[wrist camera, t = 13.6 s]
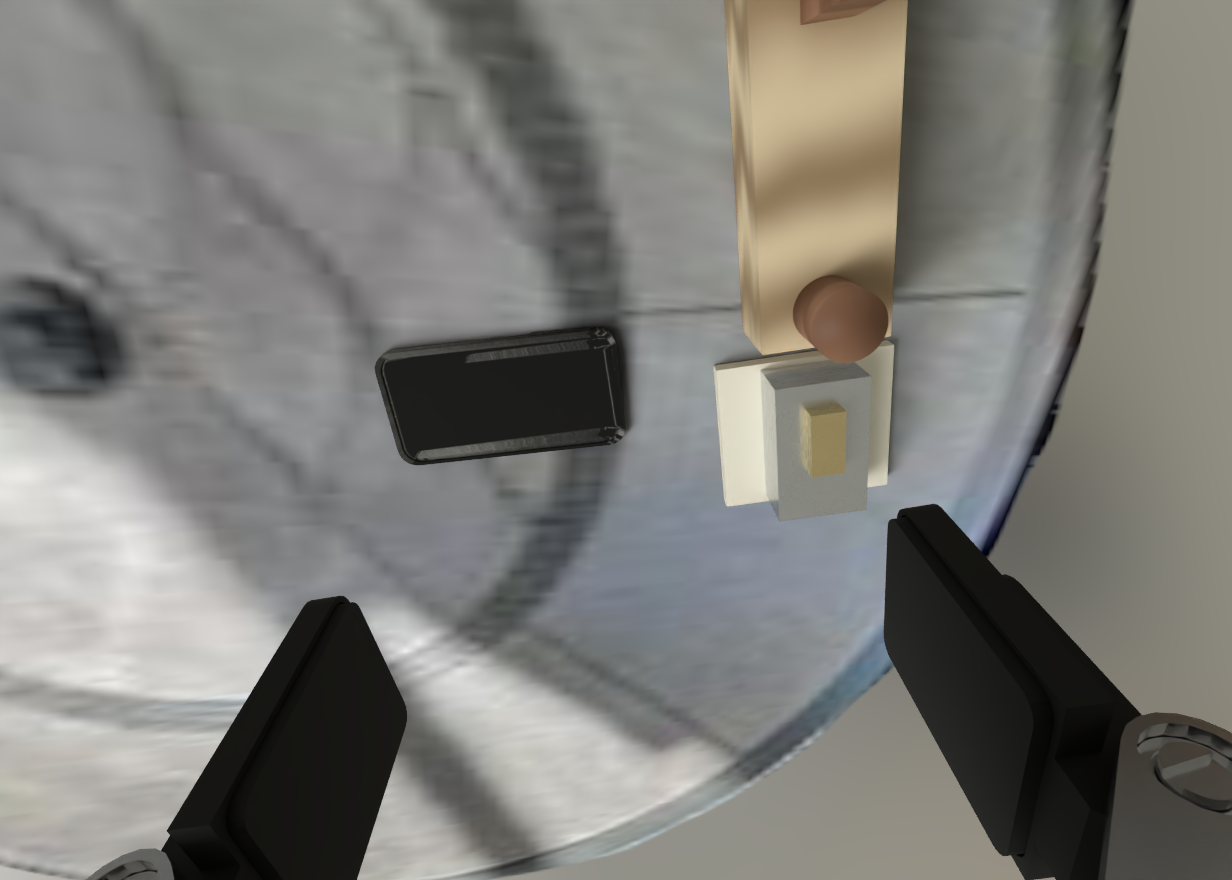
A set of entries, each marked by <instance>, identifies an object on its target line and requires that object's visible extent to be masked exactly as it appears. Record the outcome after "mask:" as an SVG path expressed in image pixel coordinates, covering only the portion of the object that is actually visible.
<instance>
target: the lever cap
mask: <svg viewBox="0 0 1232 880" xmlns="http://www.w3.org/2000/svg"><path fill="white" fill-rule="evenodd" d="M760 376H761V398H762V419H763V441H764V463H765V485H766V495H767V497H768V499H769V501H770V503H771V505H772V507H773V509H774V511H775V513H776V515H777V517H778V520H779V522H780V521H787V520H794V519H802V518H809V517H816V516H824V515H831V514H839V513H846V512H853V511H861V510H867V484H868V457H869V430H870V403H871V375H869V374H868V373H867V372H866V371H865V370H864V369H862V368H861V367H860V366H859V365H858V364H856V363H855V362H851V363H839V362H835V361H832V360H826V361H819V362H812V363H805V364H798V365H791V366H784V367H778V368H771V369H764V370H760Z"/></svg>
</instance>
